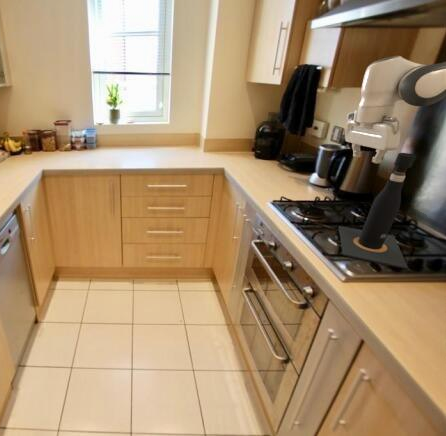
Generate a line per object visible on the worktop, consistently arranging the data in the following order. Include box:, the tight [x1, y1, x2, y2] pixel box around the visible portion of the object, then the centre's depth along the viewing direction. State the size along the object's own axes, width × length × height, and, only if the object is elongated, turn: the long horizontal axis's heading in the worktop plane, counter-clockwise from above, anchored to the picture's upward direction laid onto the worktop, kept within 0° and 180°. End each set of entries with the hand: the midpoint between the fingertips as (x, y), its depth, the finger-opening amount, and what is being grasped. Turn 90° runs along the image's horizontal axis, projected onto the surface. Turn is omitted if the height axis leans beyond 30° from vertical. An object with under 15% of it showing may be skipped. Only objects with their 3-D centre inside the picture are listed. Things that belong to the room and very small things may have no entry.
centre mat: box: [338, 225, 409, 270], centre depth 103 cm, size 16×20×1 cm
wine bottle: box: [358, 152, 417, 249], centre depth 96 cm, size 6×6×30 cm
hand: (366, 159), depth 103 cm, fingers open, 8 cm apart
